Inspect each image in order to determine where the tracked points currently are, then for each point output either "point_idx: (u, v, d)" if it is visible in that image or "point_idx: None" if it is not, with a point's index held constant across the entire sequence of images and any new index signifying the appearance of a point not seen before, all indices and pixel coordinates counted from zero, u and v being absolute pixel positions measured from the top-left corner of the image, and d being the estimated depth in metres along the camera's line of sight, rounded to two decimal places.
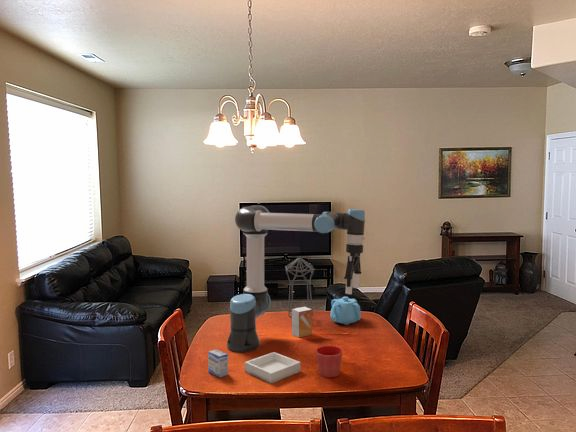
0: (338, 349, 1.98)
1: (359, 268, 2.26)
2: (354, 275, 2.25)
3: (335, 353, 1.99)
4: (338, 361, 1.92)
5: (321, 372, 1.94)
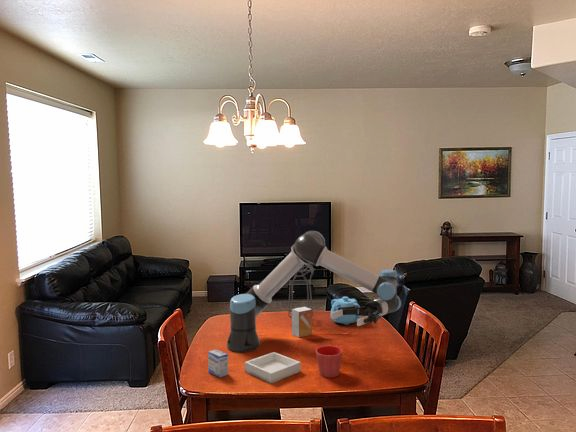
0: (338, 349, 1.98)
1: None
2: (341, 311, 2.10)
3: (335, 353, 1.99)
4: (338, 361, 1.92)
5: (321, 372, 1.94)
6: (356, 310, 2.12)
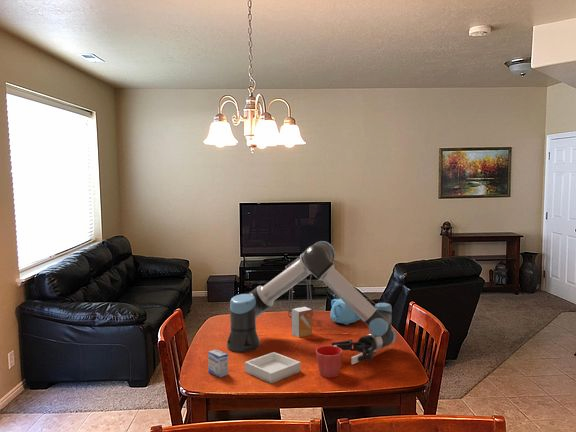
0: (338, 349, 1.98)
1: None
2: None
3: (335, 353, 1.99)
4: (338, 361, 1.92)
5: (321, 372, 1.94)
6: (350, 345, 2.09)
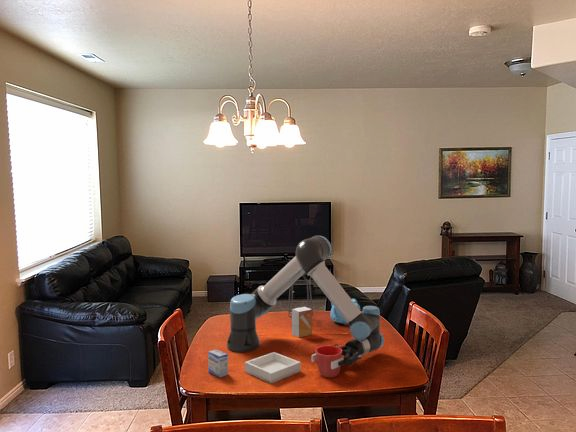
0: (338, 349, 1.98)
1: None
2: None
3: (335, 353, 1.99)
4: None
5: (321, 372, 1.94)
6: None
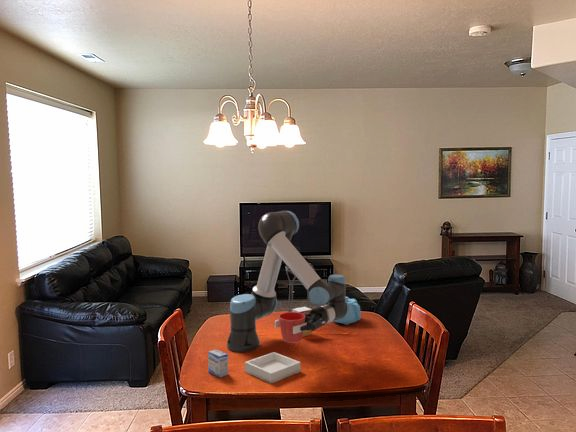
0: (301, 315, 1.97)
1: None
2: None
3: (299, 319, 1.98)
4: None
5: (284, 337, 1.93)
6: None
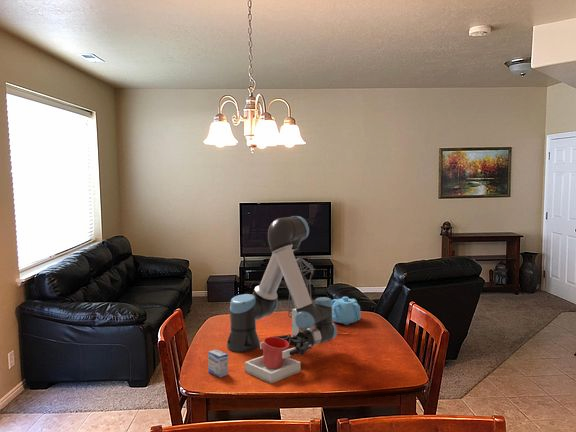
0: (286, 343, 2.03)
1: None
2: None
3: (283, 346, 2.04)
4: (281, 354, 1.97)
5: (264, 361, 2.00)
6: (287, 340, 2.08)
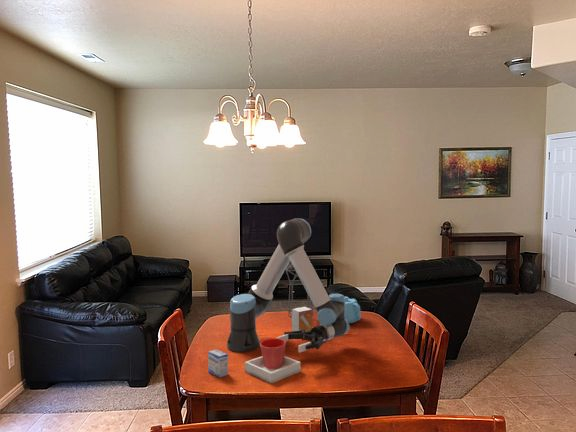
0: (284, 343, 2.03)
1: None
2: (287, 336, 2.12)
3: None
4: (277, 354, 1.97)
5: (264, 363, 2.01)
6: (302, 335, 2.14)
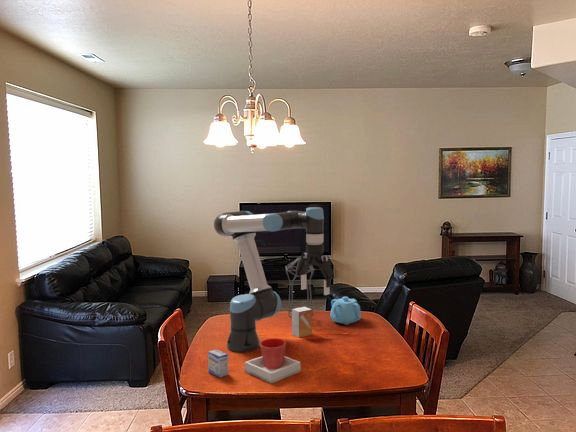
0: (284, 343, 2.03)
1: None
2: (303, 276, 2.16)
3: None
4: (277, 354, 1.97)
5: (264, 363, 2.01)
6: (308, 264, 2.13)
